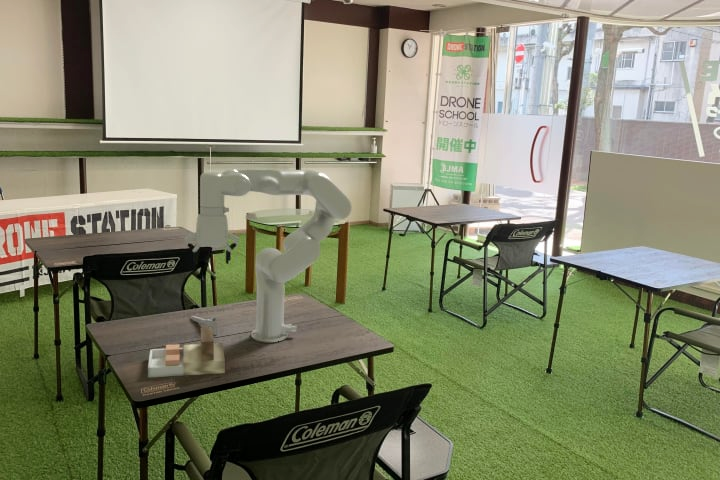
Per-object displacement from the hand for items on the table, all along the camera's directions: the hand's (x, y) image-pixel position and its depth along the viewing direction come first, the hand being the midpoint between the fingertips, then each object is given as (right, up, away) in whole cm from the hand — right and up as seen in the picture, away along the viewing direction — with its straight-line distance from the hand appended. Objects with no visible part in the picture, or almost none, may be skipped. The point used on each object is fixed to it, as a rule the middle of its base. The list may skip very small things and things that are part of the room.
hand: (212, 262), depth 204 cm
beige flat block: (0, -31, -10) cm, 33 cm away
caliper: (-8, -24, +22) cm, 34 cm away
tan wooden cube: (-6, -30, -16) cm, 34 cm away
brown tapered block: (+1, -27, -10) cm, 29 cm away
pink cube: (-8, -28, -8) cm, 30 cm away
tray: (-11, -31, -13) cm, 35 cm away
